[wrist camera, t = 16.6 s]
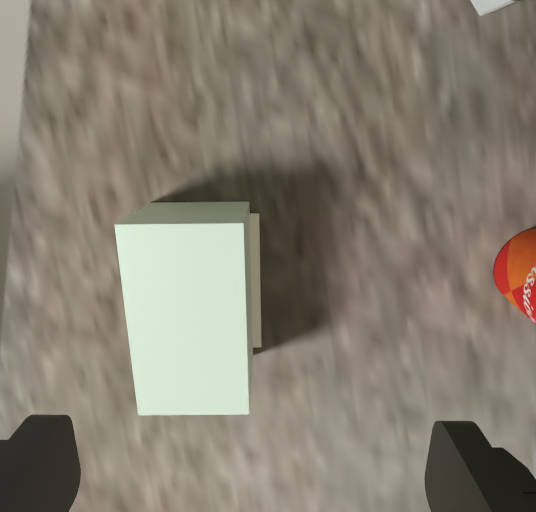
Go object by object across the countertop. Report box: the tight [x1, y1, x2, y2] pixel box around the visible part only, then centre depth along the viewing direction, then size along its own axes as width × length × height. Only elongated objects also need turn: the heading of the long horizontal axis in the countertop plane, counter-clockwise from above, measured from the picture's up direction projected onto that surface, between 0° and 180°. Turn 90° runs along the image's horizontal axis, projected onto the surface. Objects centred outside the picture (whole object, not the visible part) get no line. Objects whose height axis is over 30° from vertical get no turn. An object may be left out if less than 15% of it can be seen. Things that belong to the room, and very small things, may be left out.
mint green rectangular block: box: [115, 202, 253, 415], centre depth 26 cm, size 12×7×7 cm, turn 1°
